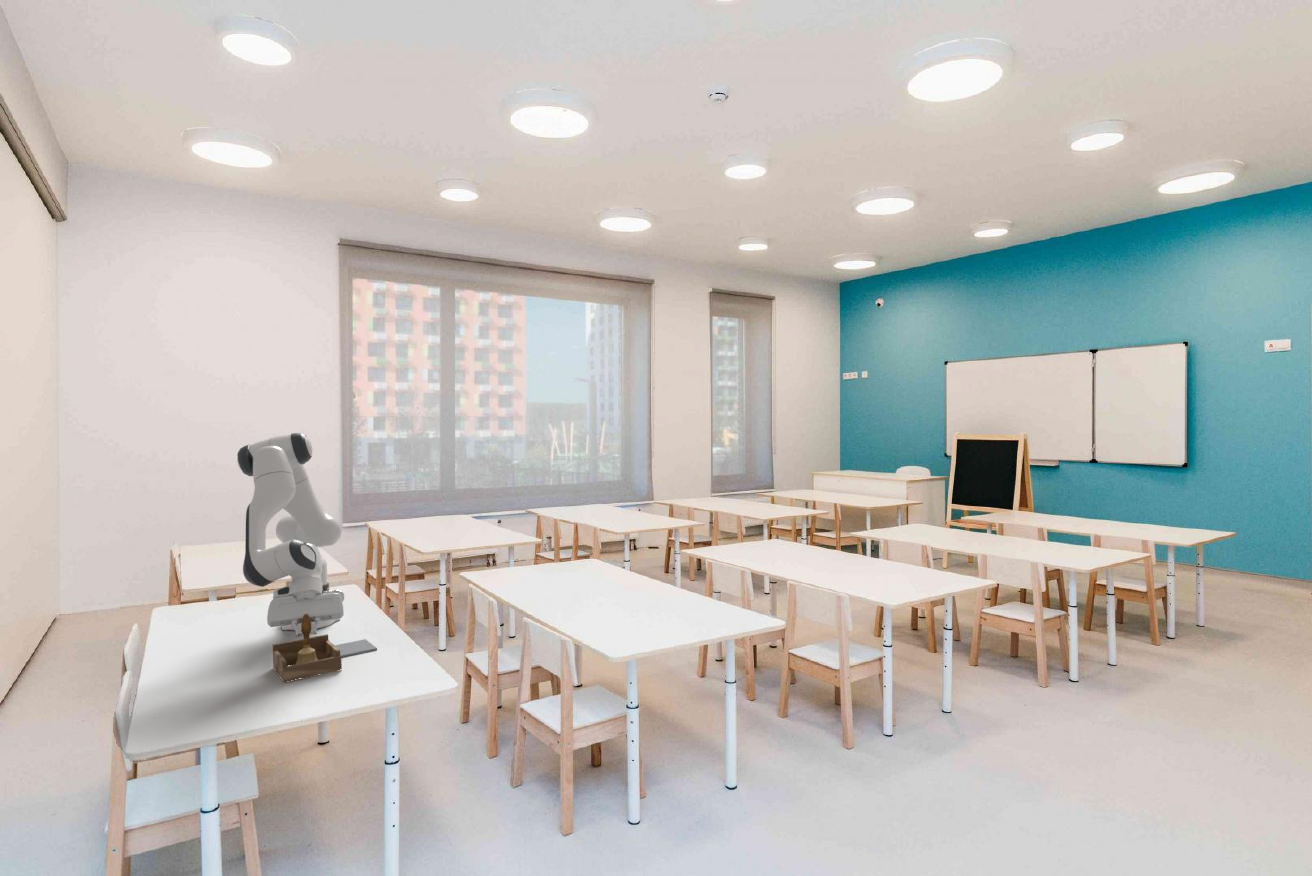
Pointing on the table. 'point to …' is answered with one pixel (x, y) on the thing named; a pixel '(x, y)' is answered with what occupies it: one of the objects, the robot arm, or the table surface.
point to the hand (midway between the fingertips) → (306, 634)
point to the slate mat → (355, 647)
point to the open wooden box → (289, 654)
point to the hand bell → (306, 643)
